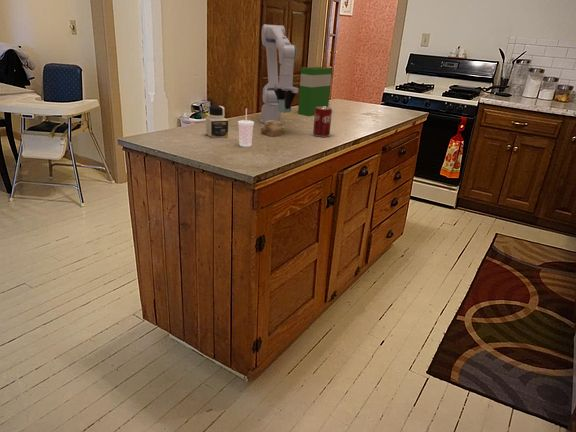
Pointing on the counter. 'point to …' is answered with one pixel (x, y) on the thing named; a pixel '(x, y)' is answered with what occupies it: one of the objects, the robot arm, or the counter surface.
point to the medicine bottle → (216, 122)
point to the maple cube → (273, 124)
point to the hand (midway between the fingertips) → (284, 107)
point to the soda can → (322, 121)
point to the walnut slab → (272, 132)
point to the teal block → (283, 106)
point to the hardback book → (314, 89)
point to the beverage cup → (245, 132)
